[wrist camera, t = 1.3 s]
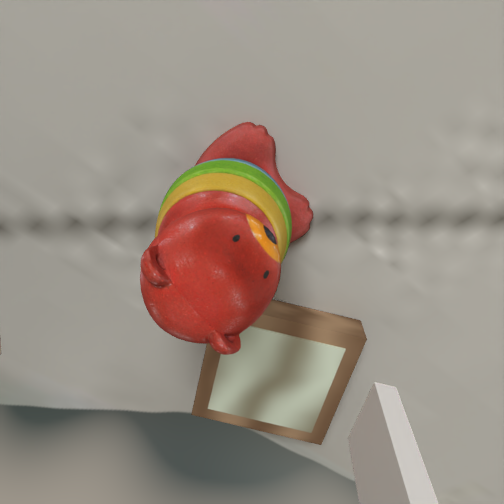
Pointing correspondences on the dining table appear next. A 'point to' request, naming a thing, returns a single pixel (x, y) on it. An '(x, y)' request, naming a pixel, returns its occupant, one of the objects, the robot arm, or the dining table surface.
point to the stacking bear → (222, 241)
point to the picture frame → (282, 373)
